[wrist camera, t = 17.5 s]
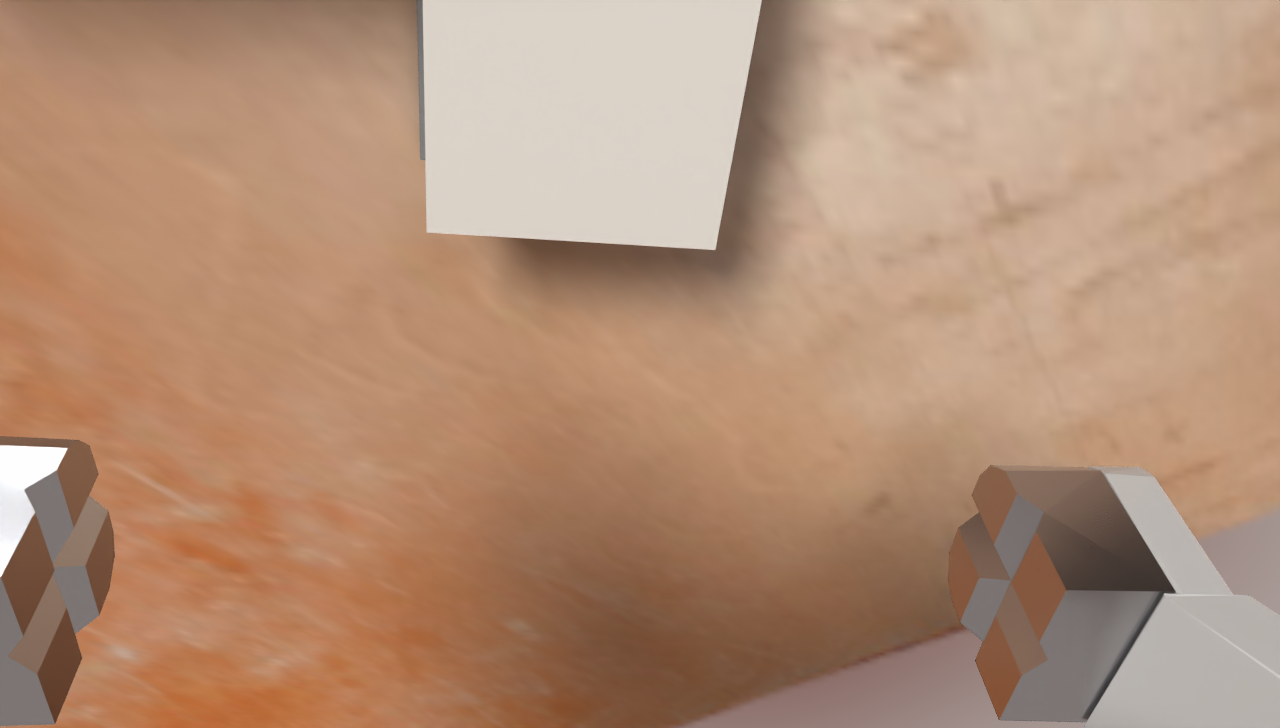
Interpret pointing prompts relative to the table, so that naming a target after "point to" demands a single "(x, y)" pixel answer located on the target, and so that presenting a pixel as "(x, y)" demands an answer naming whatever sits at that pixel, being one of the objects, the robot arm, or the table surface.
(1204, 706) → the robot arm
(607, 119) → the cream white box
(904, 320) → the table surface
